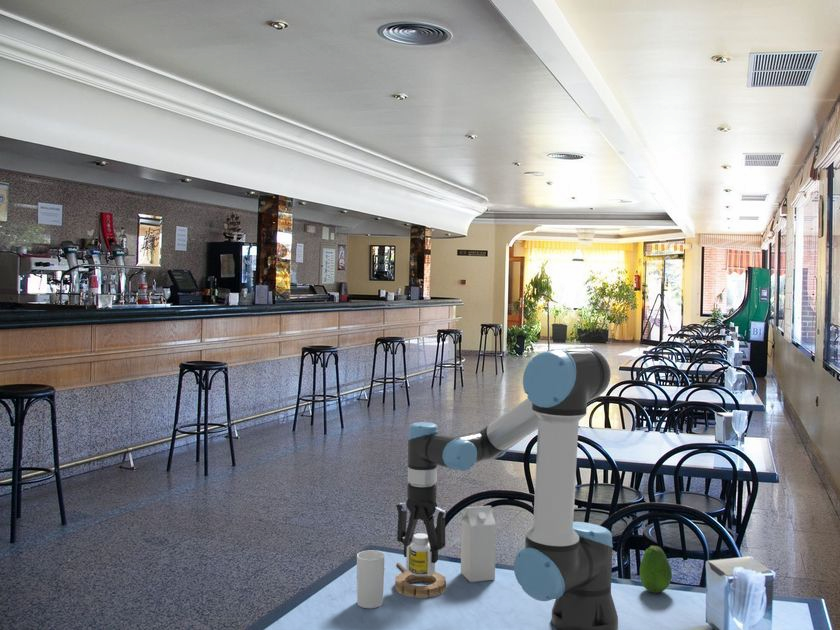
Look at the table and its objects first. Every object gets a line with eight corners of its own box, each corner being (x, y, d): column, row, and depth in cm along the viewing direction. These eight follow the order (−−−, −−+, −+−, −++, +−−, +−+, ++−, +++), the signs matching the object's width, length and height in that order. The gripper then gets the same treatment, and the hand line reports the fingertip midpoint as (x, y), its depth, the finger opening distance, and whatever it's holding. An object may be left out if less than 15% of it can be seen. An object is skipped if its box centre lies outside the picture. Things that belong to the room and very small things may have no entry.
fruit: (677, 593, 197) (679, 547, 196) (659, 601, 192) (660, 553, 191) (650, 583, 203) (652, 538, 202) (632, 590, 198) (633, 545, 197)
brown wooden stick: (412, 577, 204) (412, 575, 204) (410, 578, 204) (410, 576, 204) (399, 564, 214) (399, 562, 214) (396, 565, 213) (396, 563, 213)
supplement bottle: (406, 574, 197) (406, 536, 197) (416, 567, 202) (416, 530, 201) (424, 578, 194) (425, 540, 194) (434, 571, 199) (435, 534, 199)
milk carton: (460, 573, 208) (461, 503, 208) (484, 570, 210) (486, 502, 210) (470, 582, 202) (471, 511, 201) (495, 580, 204) (496, 509, 203)
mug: (379, 610, 184) (380, 561, 183) (352, 607, 185) (353, 558, 185) (389, 593, 194) (390, 547, 193) (364, 591, 195) (364, 544, 195)
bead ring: (454, 583, 201) (454, 575, 201) (431, 601, 189) (431, 593, 189) (410, 574, 207) (410, 566, 207) (386, 590, 195) (386, 583, 195)
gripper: (460, 484, 196) (458, 574, 197) (397, 475, 205) (396, 560, 206) (448, 491, 189) (446, 584, 191) (383, 481, 198) (382, 569, 199)
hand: (420, 571), depth 198 cm, fingers closed on supplement bottle, 5 cm apart
